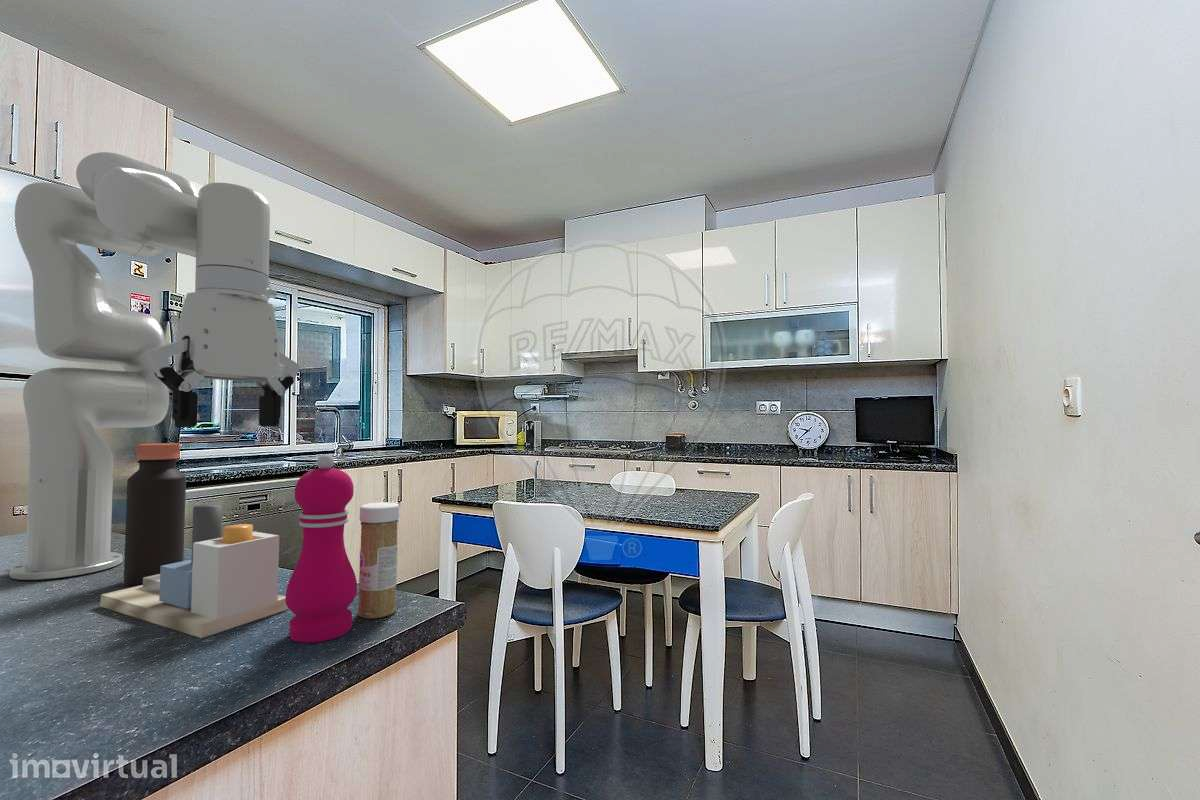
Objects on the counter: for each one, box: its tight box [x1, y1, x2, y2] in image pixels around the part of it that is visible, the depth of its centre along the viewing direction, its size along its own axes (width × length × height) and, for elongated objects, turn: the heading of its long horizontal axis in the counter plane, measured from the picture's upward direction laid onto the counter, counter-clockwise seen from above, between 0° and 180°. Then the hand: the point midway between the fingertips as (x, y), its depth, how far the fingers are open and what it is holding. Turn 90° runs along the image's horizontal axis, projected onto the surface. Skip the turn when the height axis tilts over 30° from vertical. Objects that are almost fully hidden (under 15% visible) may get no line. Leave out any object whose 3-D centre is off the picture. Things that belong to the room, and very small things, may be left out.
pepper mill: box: [285, 453, 358, 644], centre depth 61 cm, size 7×7×20 cm
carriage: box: [159, 503, 224, 609], centre depth 67 cm, size 6×7×11 cm
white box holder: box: [191, 531, 280, 620], centre depth 65 cm, size 5×7×8 cm
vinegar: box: [123, 442, 187, 587], centre depth 80 cm, size 7×7×20 cm
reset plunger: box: [222, 523, 254, 544], centre depth 65 cm, size 3×3×4 cm
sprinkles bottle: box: [356, 501, 400, 620], centre depth 67 cm, size 5×5×13 cm
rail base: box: [100, 574, 290, 639], centre depth 68 cm, size 22×10×3 cm, turn 64°
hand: (230, 426), depth 66 cm, fingers open, 9 cm apart
